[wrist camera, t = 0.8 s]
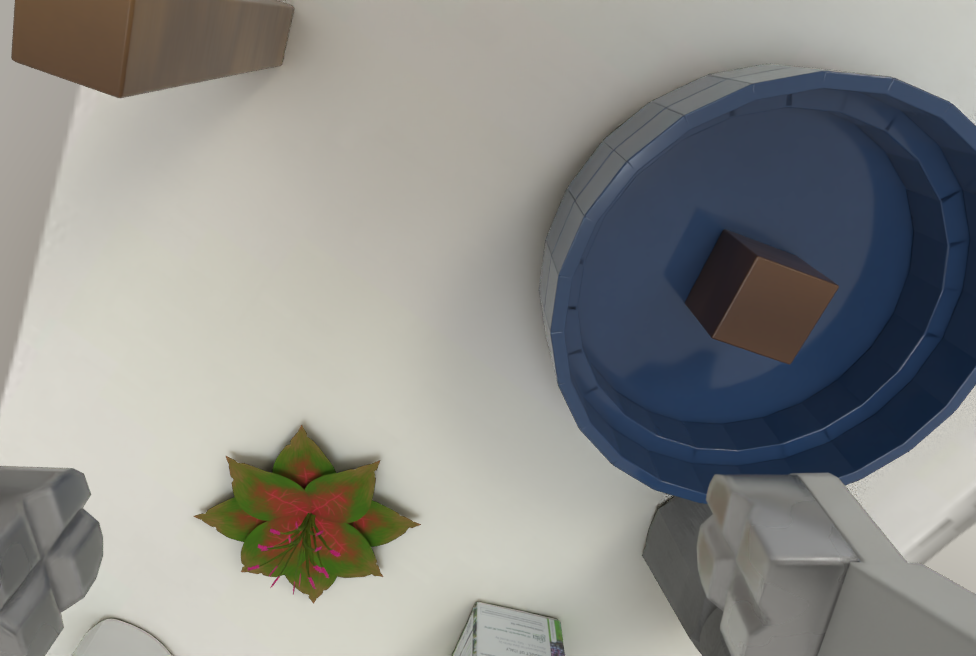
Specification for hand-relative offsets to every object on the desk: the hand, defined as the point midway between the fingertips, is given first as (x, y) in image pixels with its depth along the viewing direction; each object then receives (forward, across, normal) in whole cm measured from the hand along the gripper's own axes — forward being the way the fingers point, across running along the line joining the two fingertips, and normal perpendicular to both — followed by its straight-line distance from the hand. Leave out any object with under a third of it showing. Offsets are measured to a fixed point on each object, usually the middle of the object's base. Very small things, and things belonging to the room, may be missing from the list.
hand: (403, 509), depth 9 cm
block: (+22, -14, +5) cm, 27 cm away
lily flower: (+23, +8, +20) cm, 31 cm away
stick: (+23, +8, -6) cm, 25 cm away
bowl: (+23, -14, +5) cm, 27 cm away
